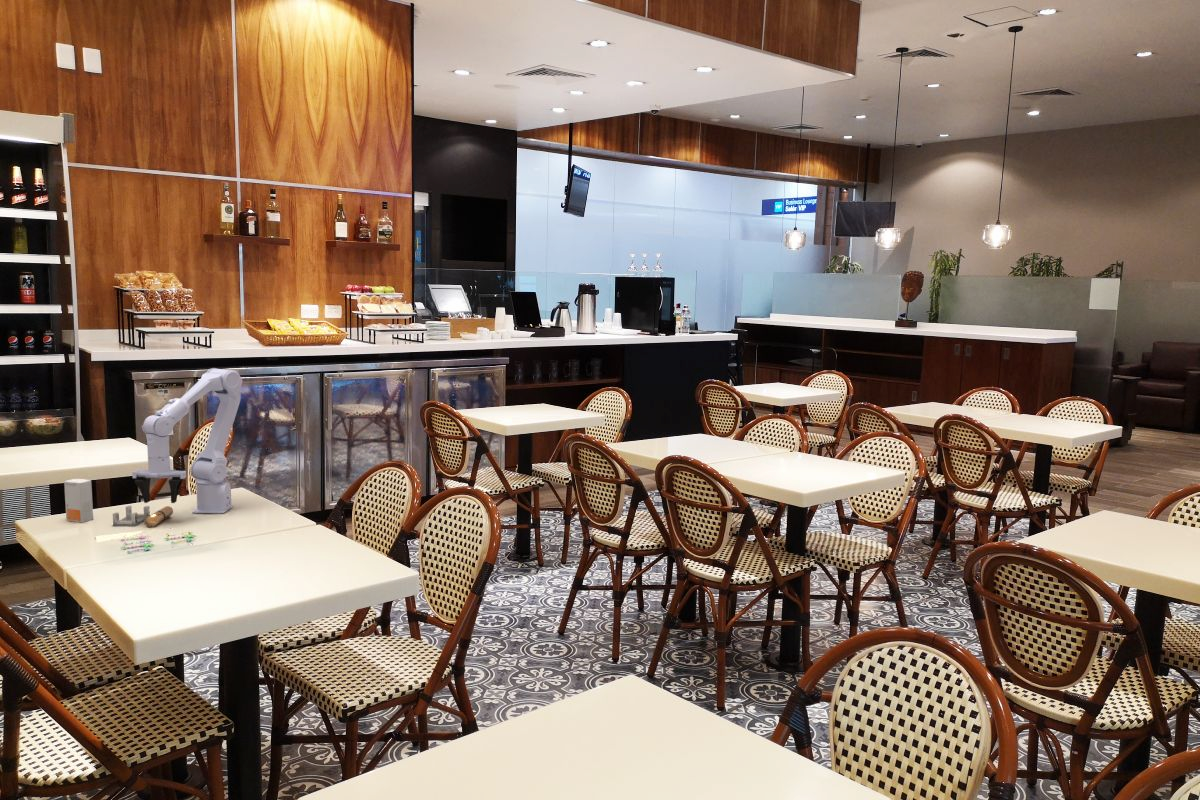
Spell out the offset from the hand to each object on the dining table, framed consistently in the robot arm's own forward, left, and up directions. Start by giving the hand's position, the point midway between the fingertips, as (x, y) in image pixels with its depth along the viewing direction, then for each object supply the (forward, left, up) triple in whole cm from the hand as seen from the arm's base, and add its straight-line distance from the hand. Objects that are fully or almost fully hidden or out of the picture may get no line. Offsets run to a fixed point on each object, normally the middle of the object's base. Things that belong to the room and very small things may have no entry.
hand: (160, 502), depth 263 cm
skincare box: (+24, -2, -6) cm, 25 cm away
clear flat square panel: (-9, +21, -7) cm, 24 cm away
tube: (0, 0, -6) cm, 6 cm away
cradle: (+8, 0, -6) cm, 10 cm away
